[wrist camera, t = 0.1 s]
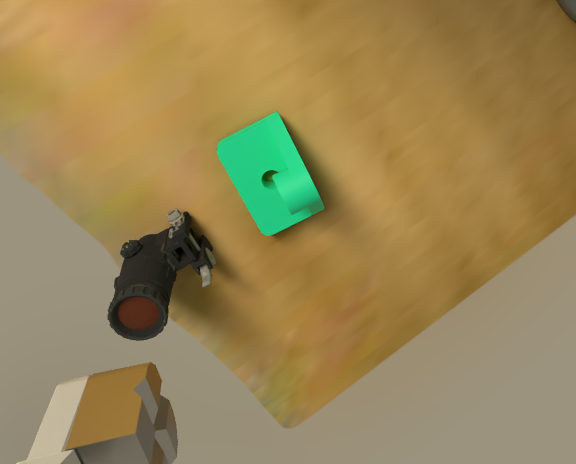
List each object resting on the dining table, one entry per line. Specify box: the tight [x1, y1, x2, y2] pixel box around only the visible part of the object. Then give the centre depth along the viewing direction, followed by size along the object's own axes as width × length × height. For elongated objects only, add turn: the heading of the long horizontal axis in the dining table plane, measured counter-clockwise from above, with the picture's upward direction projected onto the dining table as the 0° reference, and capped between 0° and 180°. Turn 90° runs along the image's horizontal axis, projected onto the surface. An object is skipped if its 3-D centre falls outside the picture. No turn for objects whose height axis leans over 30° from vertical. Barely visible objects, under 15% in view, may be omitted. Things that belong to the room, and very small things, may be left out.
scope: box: [108, 209, 216, 341], centre depth 54 cm, size 8×14×10 cm
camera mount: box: [217, 111, 325, 236], centre depth 53 cm, size 12×8×10 cm, turn 26°
